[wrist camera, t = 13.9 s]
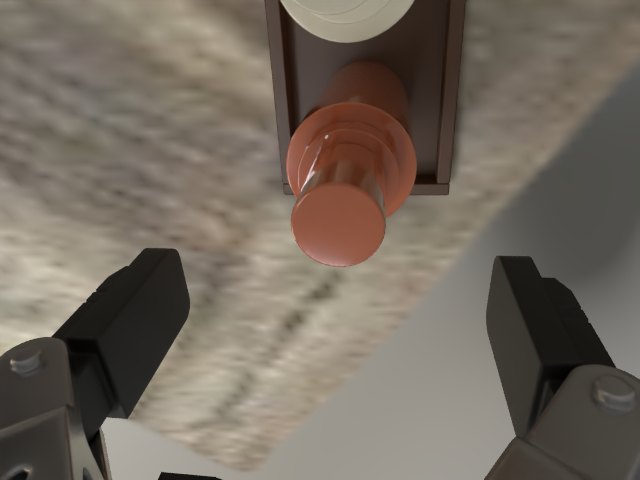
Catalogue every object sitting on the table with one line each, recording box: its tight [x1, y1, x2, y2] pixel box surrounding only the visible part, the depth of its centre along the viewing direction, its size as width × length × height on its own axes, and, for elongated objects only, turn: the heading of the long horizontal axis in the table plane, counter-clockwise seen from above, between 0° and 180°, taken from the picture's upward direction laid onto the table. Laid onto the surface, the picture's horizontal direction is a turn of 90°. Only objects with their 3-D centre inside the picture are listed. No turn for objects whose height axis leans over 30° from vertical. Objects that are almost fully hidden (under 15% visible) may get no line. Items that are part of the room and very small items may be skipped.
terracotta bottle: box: [286, 60, 417, 267], centre depth 21 cm, size 5×5×16 cm
